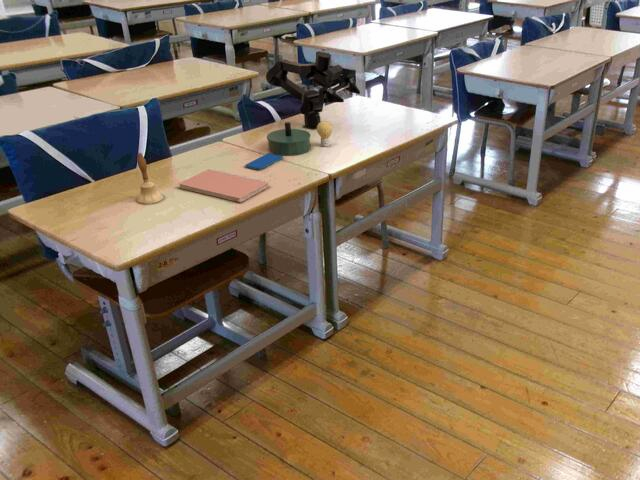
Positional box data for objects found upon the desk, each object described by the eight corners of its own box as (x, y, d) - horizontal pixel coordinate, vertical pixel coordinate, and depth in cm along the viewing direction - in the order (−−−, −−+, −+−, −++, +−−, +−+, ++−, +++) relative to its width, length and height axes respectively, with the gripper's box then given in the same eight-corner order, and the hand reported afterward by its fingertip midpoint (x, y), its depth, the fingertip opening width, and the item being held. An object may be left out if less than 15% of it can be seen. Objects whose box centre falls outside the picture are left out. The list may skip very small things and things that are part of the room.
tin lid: (264, 133, 260) (262, 118, 256) (306, 130, 264) (305, 115, 261) (270, 147, 246) (268, 131, 243) (314, 143, 251) (313, 127, 247)
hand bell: (148, 206, 208) (138, 159, 200) (132, 200, 212) (121, 154, 203) (168, 197, 214) (159, 152, 206) (152, 192, 218) (142, 147, 209)
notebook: (271, 186, 224) (270, 180, 223) (240, 203, 211) (240, 197, 210) (211, 172, 234) (210, 167, 233) (178, 188, 221) (177, 182, 220)
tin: (266, 144, 262) (265, 132, 259) (305, 140, 266) (304, 129, 264) (272, 157, 249) (271, 145, 246) (313, 153, 253) (312, 141, 251)
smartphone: (244, 165, 239) (268, 152, 250) (244, 167, 239) (269, 155, 250) (259, 168, 236) (283, 155, 247) (260, 171, 236) (284, 158, 248)
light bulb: (315, 144, 263) (314, 120, 258) (330, 142, 265) (329, 118, 260) (320, 148, 258) (318, 124, 253) (335, 147, 260) (334, 123, 255)
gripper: (308, 71, 255) (334, 87, 248) (342, 55, 264) (368, 71, 258) (309, 95, 263) (335, 112, 257) (342, 79, 273) (367, 95, 266)
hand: (351, 96), depth 259 cm, fingers open, 9 cm apart
